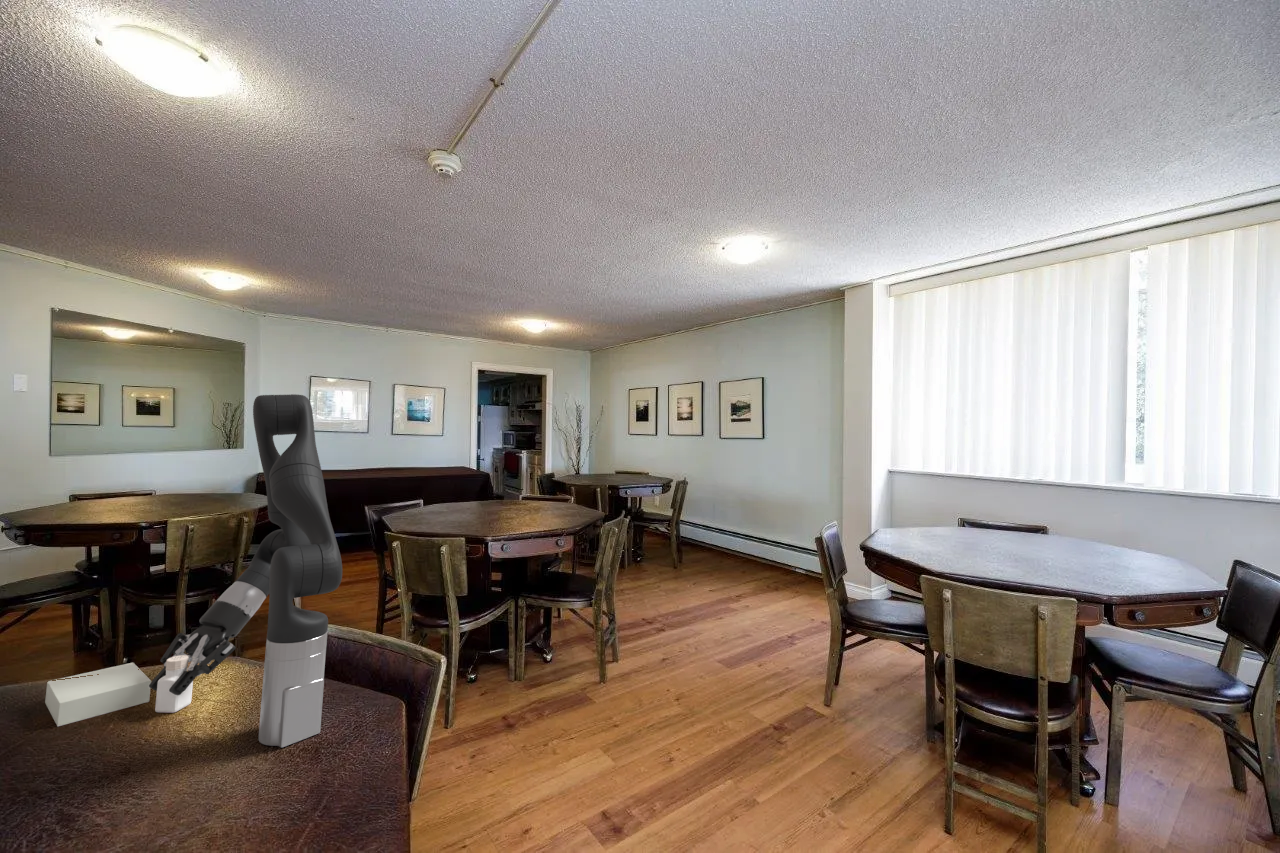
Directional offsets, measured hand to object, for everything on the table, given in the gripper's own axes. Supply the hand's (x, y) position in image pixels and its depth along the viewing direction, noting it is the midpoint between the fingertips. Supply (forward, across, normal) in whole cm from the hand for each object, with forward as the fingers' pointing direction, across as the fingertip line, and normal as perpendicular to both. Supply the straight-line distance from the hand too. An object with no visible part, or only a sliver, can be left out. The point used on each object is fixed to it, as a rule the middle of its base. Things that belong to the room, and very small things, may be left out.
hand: (164, 690), depth 96 cm
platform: (+4, -16, +2) cm, 16 cm away
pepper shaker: (+2, 0, +4) cm, 5 cm away
